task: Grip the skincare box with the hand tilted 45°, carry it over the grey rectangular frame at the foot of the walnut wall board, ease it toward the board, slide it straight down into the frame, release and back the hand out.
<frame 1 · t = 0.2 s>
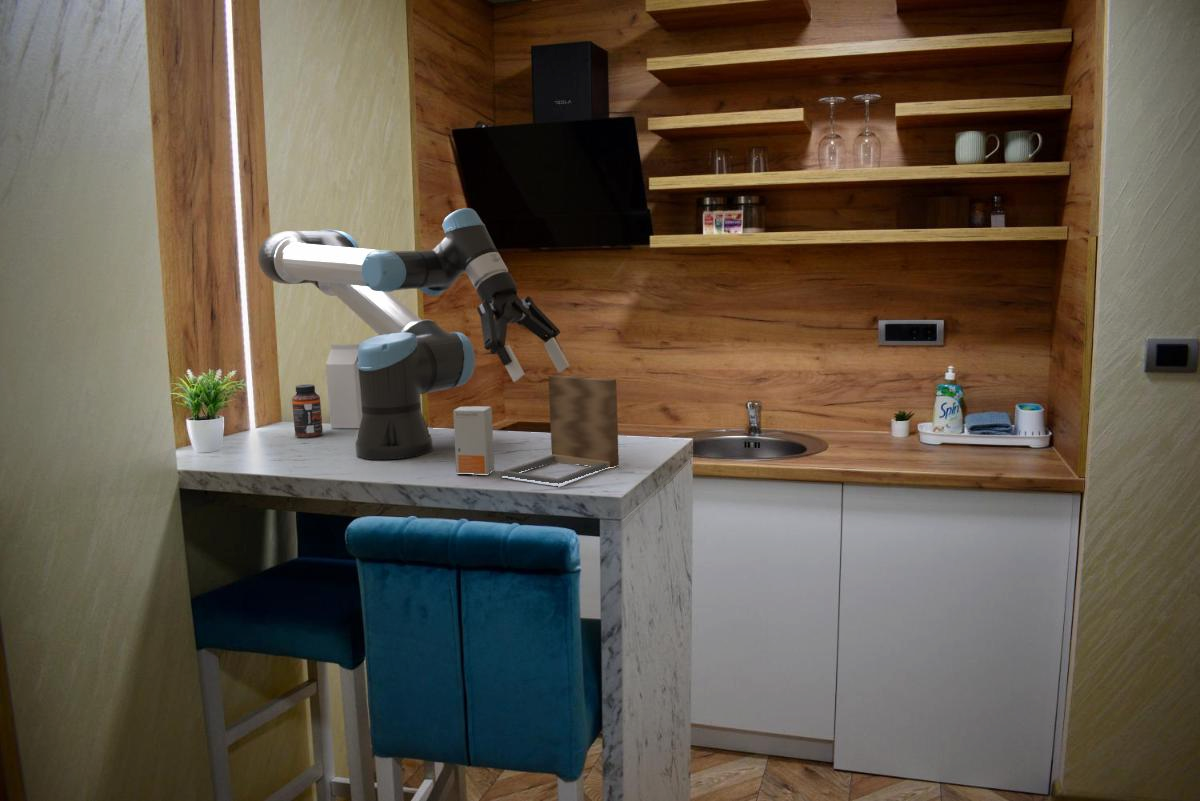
hand: (542, 373, 180), 16 cm above the countertop, tool tilted 35°, fingers open, 13 cm apart
supplement bottle: (309, 436, 207), on the countertop
milk carton: (352, 426, 217), on the countertop
skincare box: (476, 474, 169), on the countertop
grey rectangular frame: (556, 473, 167), on the countertop
wall board: (584, 462, 173), on the countertop
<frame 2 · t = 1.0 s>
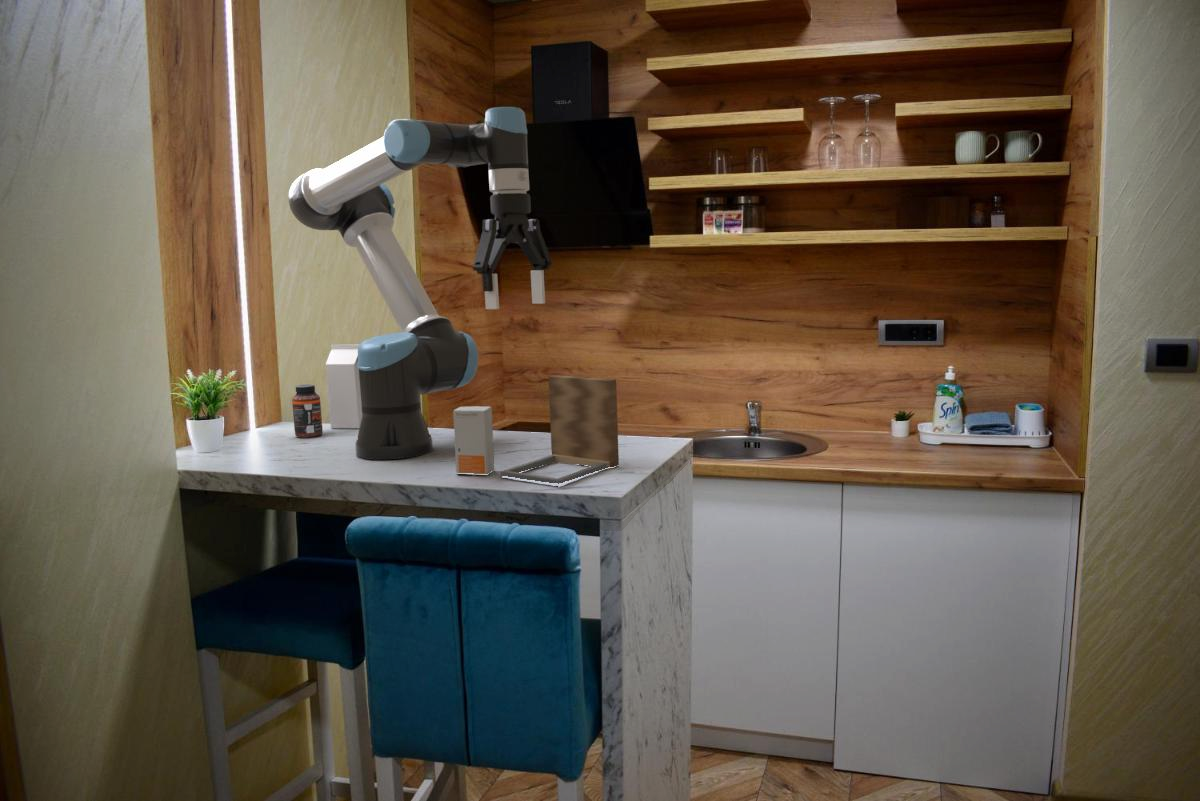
hand: (516, 306, 179), 29 cm above the countertop, tool pointing down, fingers open, 13 cm apart
nothing on the countertop moved.
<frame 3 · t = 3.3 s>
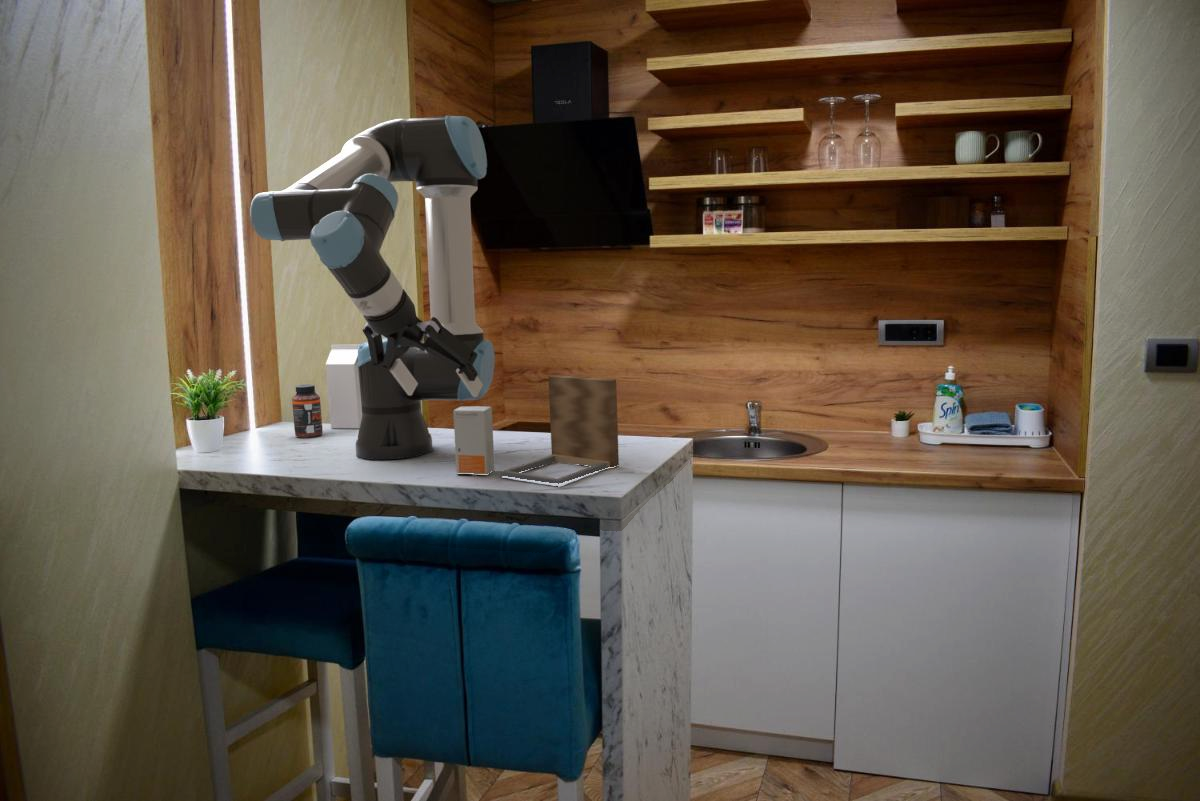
hand: (445, 390, 159), 16 cm above the countertop, tool tilted 40°, fingers open, 13 cm apart
nothing on the countertop moved.
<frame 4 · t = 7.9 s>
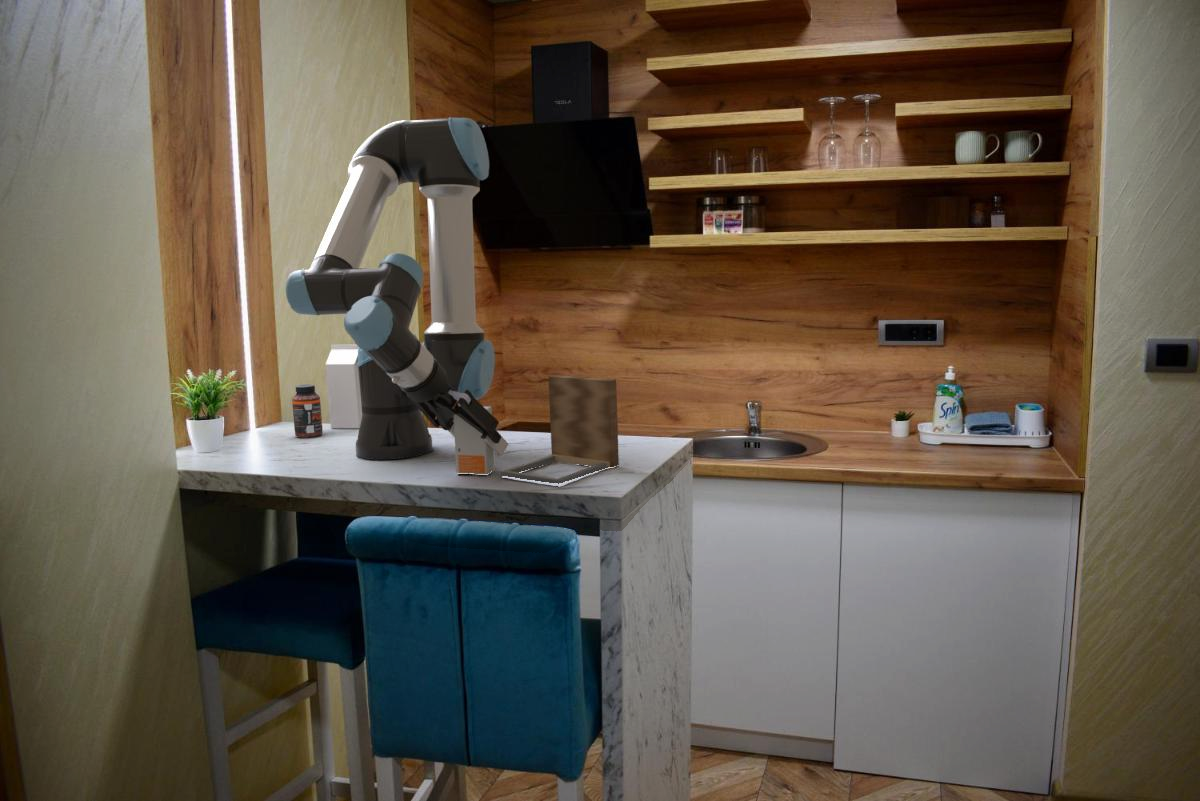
hand: (488, 447, 171), 4 cm above the countertop, tool tilted 45°, fingers closed on skincare box, 7 cm apart
skincare box: (476, 474, 169), on the countertop, touching gripper
everything else where it was.
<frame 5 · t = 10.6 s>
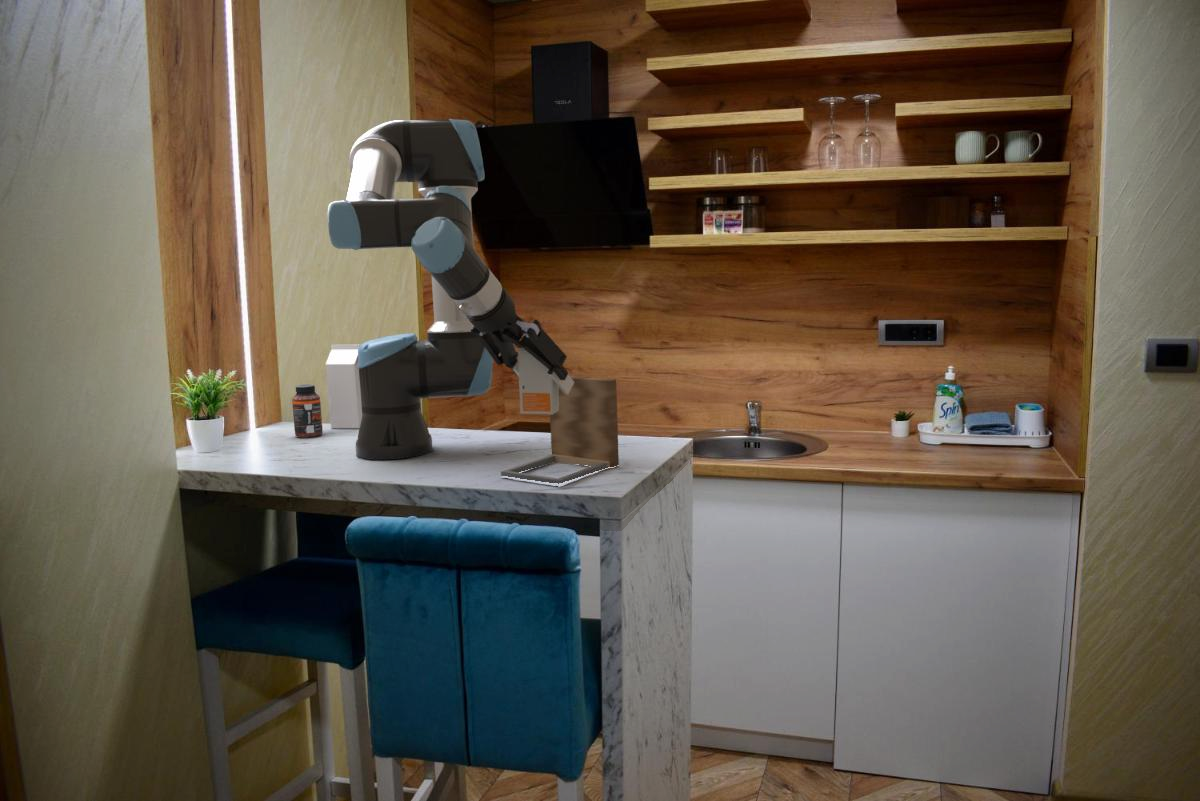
hand: (552, 386, 164), 16 cm above the countertop, tool tilted 45°, fingers closed on skincare box, 7 cm apart
skincare box: (540, 413, 162), point 11 cm above the countertop, touching gripper
everything else where it was.
when the fingers open (5 cm above the countertop, at t = 13.8 s): skincare box drops 1 cm, resting in grey rectangular frame.
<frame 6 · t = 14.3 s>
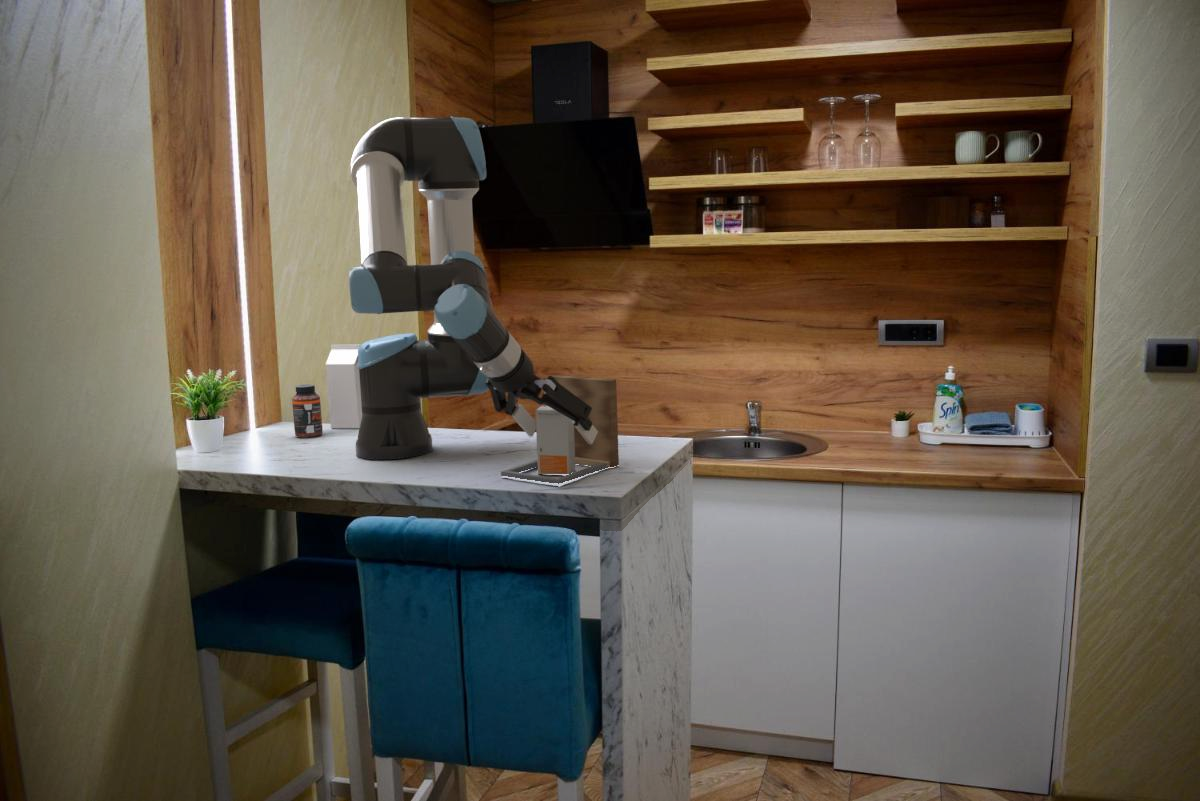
hand: (563, 434, 167), 7 cm above the countertop, tool tilted 45°, fingers open, 13 cm apart
skincare box: (557, 474, 167), resting in grey rectangular frame
everything else where it was.
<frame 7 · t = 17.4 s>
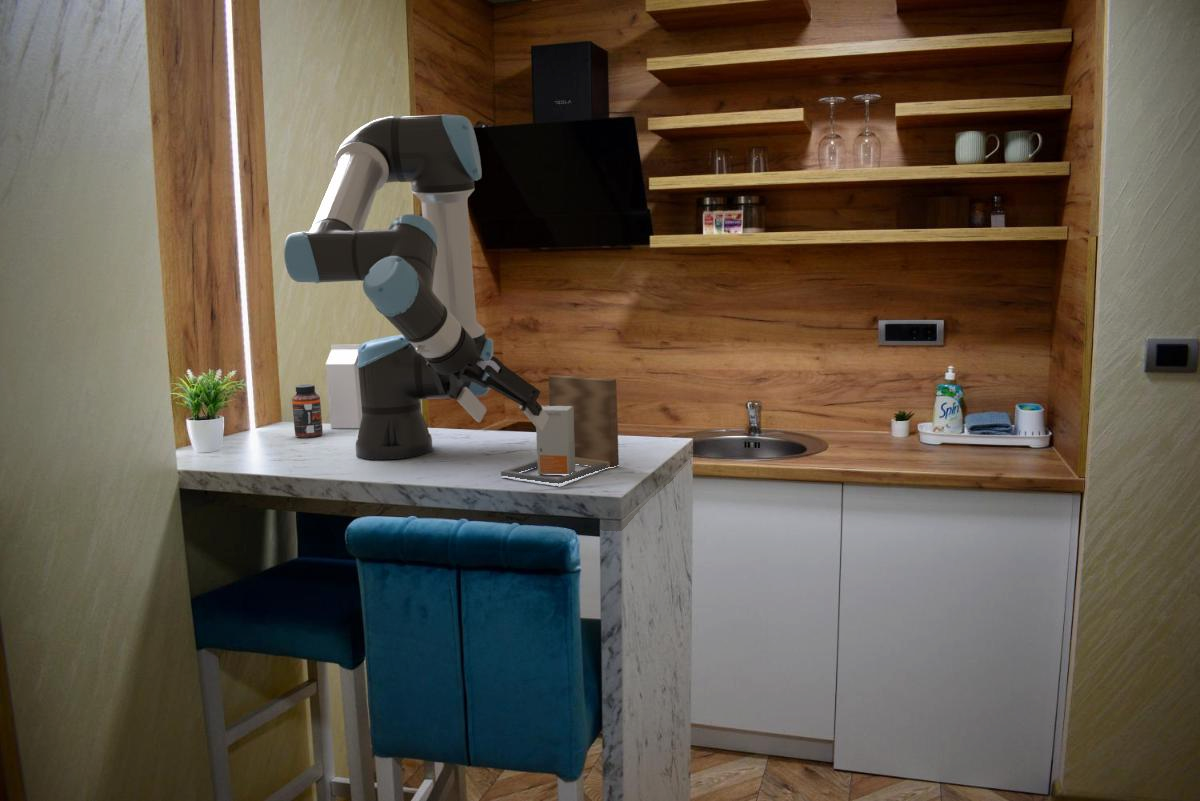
hand: (512, 419, 156), 12 cm above the countertop, tool tilted 45°, fingers open, 13 cm apart
nothing on the countertop moved.
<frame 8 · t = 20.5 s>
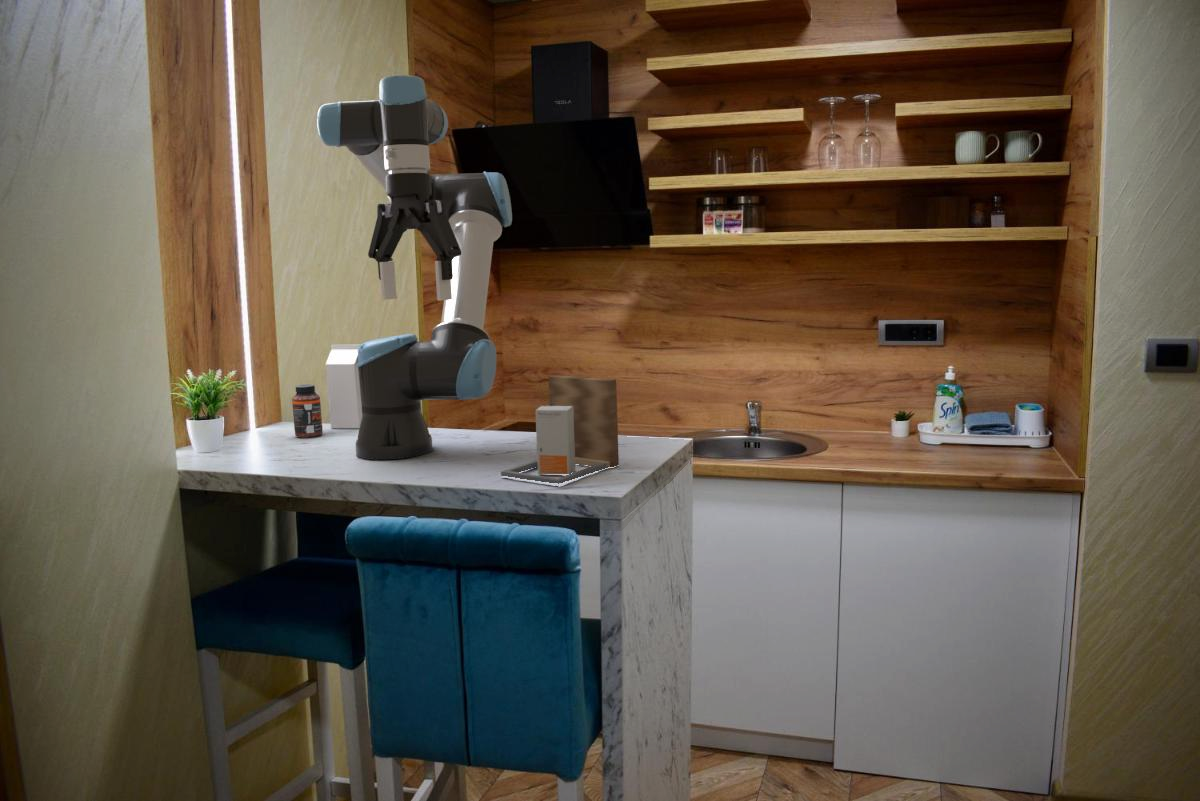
hand: (416, 299, 161), 32 cm above the countertop, tool pointing down, fingers open, 13 cm apart
nothing on the countertop moved.
at the end: skincare box inside the target area on the grey rectangular frame (0.2 cm from its centre), point 0.0 cm above the grey rectangular frame's base; skincare box tilted 0°; the gripper is holding nothing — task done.
